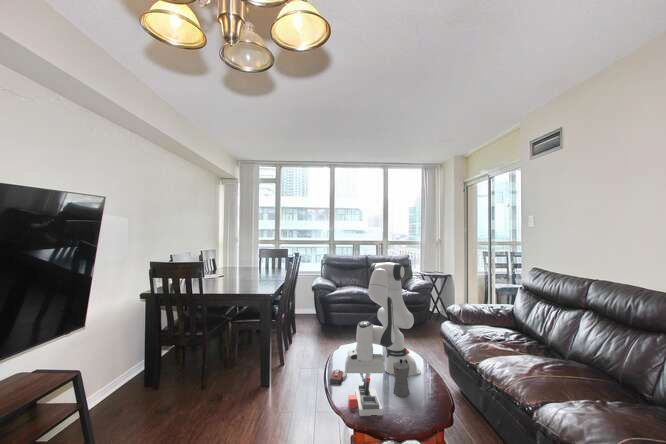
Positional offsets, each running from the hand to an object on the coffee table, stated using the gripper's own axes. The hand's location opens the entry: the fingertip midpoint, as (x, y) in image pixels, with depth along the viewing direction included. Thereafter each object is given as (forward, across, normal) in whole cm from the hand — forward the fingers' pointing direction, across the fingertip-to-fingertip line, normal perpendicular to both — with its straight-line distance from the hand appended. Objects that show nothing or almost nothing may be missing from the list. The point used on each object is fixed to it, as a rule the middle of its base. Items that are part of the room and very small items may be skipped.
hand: (364, 381), depth 154 cm
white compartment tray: (+11, -2, 0) cm, 11 cm away
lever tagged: (+8, -1, 0) cm, 8 cm away
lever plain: (+8, -1, -6) cm, 10 cm away
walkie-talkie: (+12, +11, -29) cm, 33 cm away
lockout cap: (+12, +6, +2) cm, 13 cm away
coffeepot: (+11, -23, -11) cm, 27 cm away
